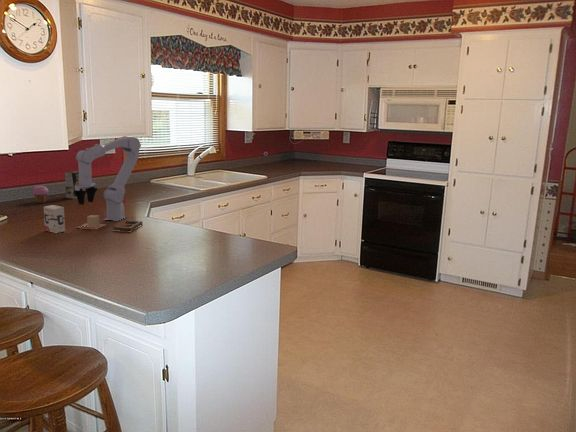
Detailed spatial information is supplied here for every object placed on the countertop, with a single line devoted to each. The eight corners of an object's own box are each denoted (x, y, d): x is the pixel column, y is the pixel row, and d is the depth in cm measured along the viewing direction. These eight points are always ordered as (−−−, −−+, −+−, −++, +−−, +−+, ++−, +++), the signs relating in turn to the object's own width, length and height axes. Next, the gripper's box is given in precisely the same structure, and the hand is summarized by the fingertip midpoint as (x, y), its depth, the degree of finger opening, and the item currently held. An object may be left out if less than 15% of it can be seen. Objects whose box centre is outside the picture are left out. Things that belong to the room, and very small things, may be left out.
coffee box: (75, 198, 293) (73, 172, 290) (65, 198, 295) (64, 172, 291) (84, 196, 302) (82, 171, 299) (75, 195, 303) (73, 170, 300)
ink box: (44, 231, 217) (42, 206, 215) (54, 229, 221) (52, 204, 219) (56, 234, 213) (54, 208, 210) (66, 232, 217) (64, 207, 215)
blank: (91, 225, 230) (91, 214, 229) (99, 225, 229) (99, 215, 228) (87, 226, 226) (87, 216, 225) (95, 227, 225) (95, 217, 224)
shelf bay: (126, 224, 237) (126, 220, 236) (142, 225, 236) (142, 221, 235) (113, 231, 223) (113, 227, 222) (129, 232, 222) (129, 228, 221)
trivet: (86, 224, 233) (86, 223, 233) (106, 225, 232) (106, 224, 232) (75, 229, 223) (75, 227, 223) (96, 230, 222) (96, 229, 222)
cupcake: (48, 203, 276) (47, 186, 274) (31, 204, 273) (30, 186, 271) (50, 200, 284) (48, 184, 282) (33, 201, 281) (32, 184, 279)
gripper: (84, 177, 221) (84, 206, 224) (101, 174, 235) (101, 201, 238) (70, 176, 222) (71, 205, 225) (88, 173, 236) (88, 200, 239)
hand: (86, 203), depth 232 cm, fingers open, 7 cm apart
